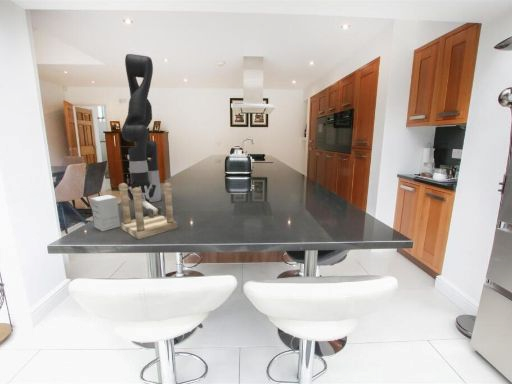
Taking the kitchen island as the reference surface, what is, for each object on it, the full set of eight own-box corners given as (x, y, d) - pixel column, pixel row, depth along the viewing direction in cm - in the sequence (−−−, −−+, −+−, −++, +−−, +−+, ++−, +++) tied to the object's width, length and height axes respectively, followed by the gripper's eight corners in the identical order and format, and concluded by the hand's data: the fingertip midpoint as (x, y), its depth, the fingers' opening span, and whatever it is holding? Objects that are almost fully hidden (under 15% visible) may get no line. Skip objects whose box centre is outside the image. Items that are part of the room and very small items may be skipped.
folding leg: (151, 215, 114) (137, 204, 123) (159, 214, 117) (144, 203, 126) (151, 208, 113) (136, 197, 122) (159, 207, 116) (144, 196, 124)
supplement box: (113, 222, 114) (109, 194, 112) (120, 226, 110) (117, 196, 107) (94, 227, 109) (89, 197, 106) (101, 231, 104) (97, 200, 101)
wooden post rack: (121, 228, 107) (115, 183, 103) (159, 218, 119) (156, 177, 115) (138, 239, 97) (133, 189, 93) (179, 227, 109) (176, 182, 105)
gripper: (150, 168, 127) (153, 203, 131) (119, 171, 117) (123, 209, 121) (158, 169, 122) (161, 206, 126) (126, 173, 112) (130, 212, 116)
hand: (142, 207), depth 123 cm, fingers closed on folding leg, 3 cm apart
